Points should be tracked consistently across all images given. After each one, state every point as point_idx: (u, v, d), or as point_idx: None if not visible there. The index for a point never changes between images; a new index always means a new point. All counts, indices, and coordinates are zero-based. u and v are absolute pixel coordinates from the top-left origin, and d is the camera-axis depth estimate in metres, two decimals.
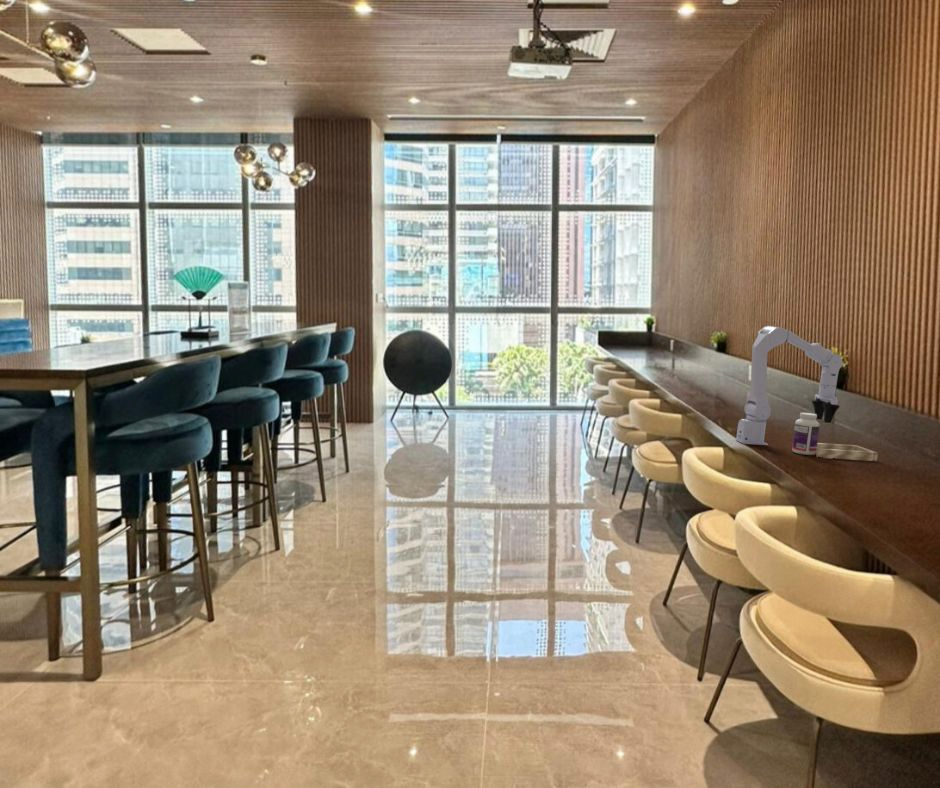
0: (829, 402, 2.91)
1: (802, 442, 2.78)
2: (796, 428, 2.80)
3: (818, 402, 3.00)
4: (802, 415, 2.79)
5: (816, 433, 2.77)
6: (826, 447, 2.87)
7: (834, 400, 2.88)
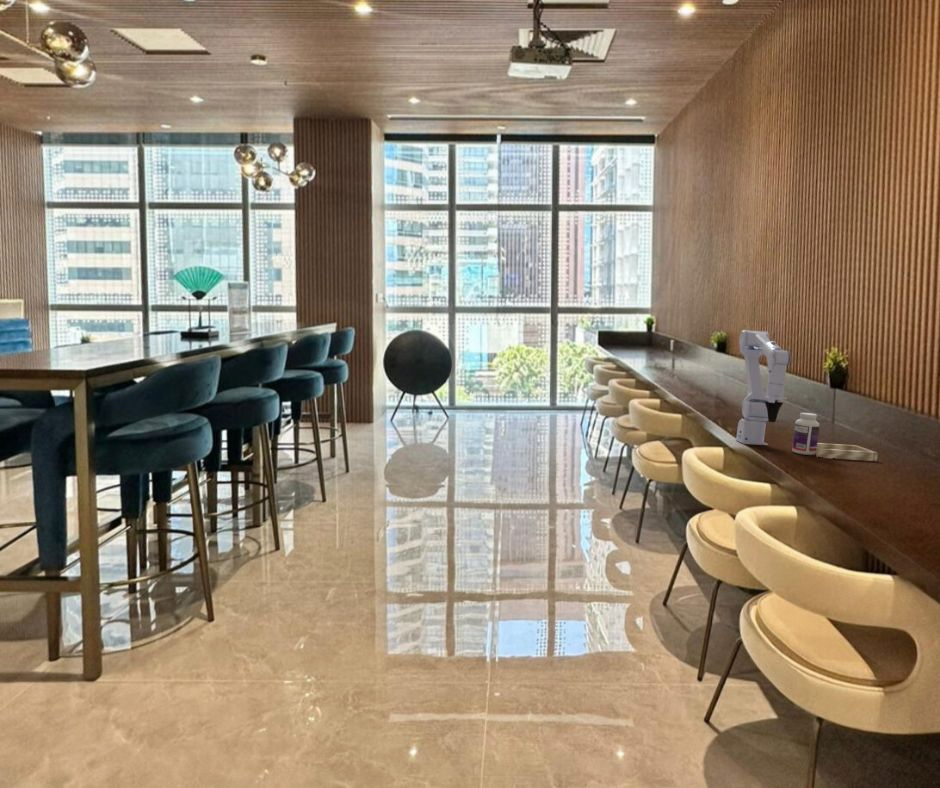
0: None
1: (802, 442, 2.78)
2: (796, 428, 2.80)
3: None
4: (802, 415, 2.79)
5: (816, 433, 2.77)
6: (826, 447, 2.87)
7: (771, 398, 2.73)
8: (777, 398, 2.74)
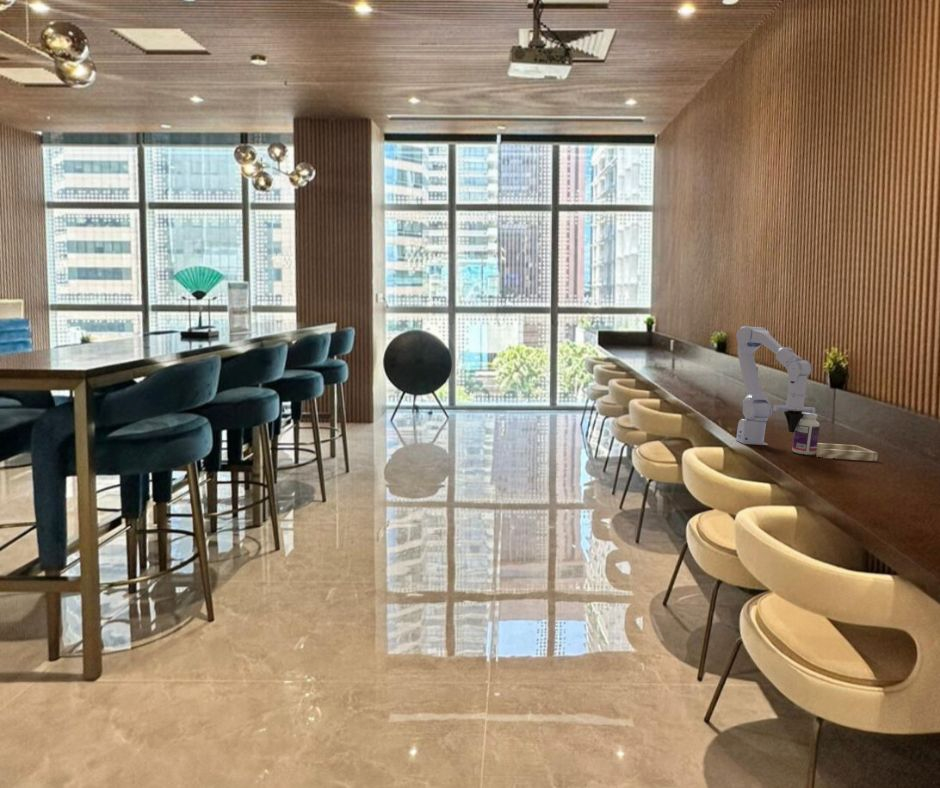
0: None
1: (802, 442, 2.78)
2: (796, 428, 2.80)
3: None
4: None
5: (816, 433, 2.77)
6: (826, 447, 2.87)
7: (774, 406, 2.78)
8: (784, 407, 2.77)
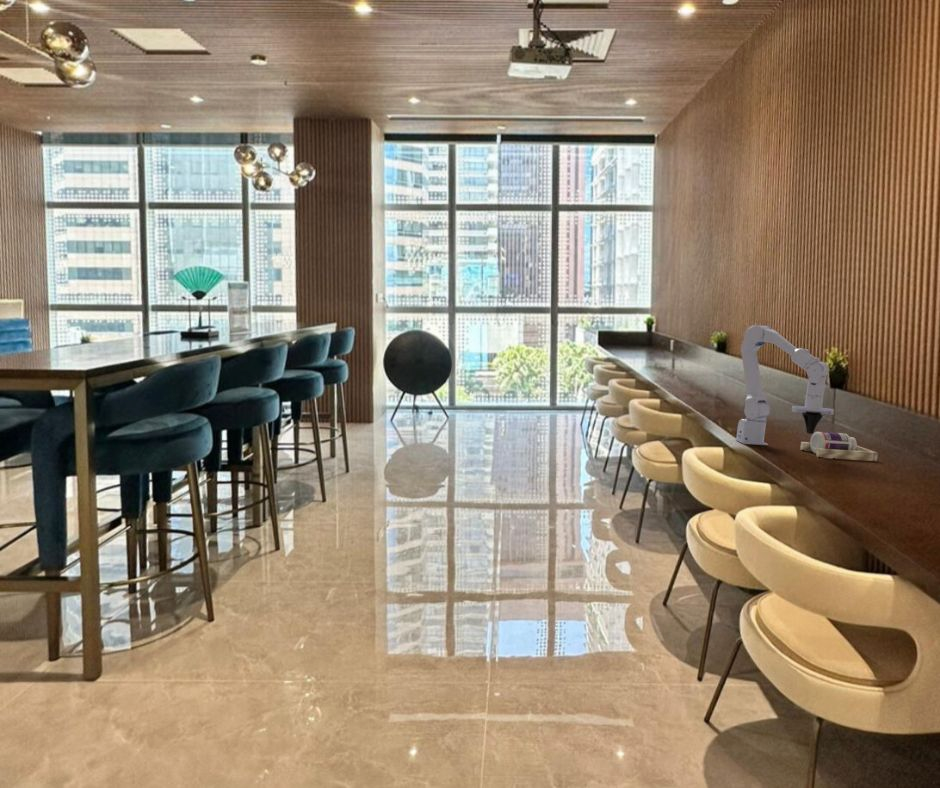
0: None
1: (832, 436, 2.79)
2: (839, 433, 2.83)
3: None
4: (852, 437, 2.83)
5: (841, 449, 2.79)
6: None
7: (793, 407, 2.79)
8: (802, 408, 2.77)
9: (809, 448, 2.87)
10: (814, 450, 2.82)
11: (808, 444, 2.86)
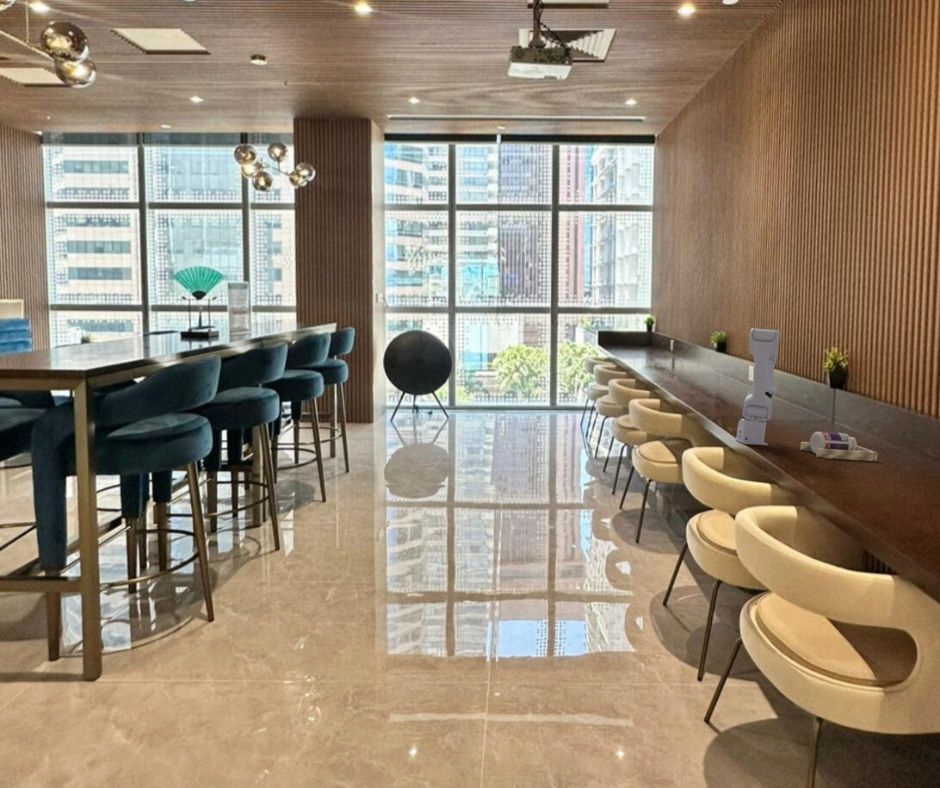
0: None
1: (832, 436, 2.79)
2: (839, 433, 2.83)
3: None
4: (852, 437, 2.83)
5: (841, 449, 2.79)
6: None
7: (751, 389, 3.03)
8: None
9: (809, 448, 2.87)
10: (814, 450, 2.82)
11: (808, 444, 2.86)
